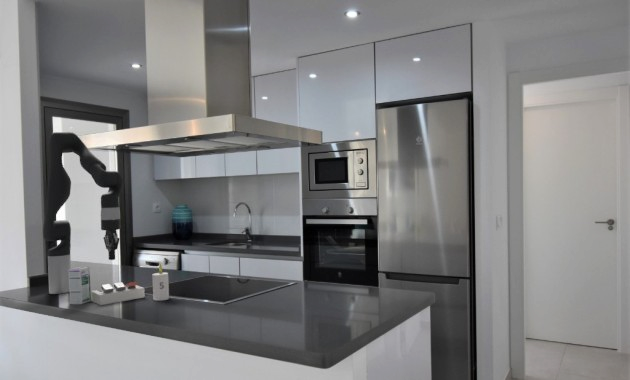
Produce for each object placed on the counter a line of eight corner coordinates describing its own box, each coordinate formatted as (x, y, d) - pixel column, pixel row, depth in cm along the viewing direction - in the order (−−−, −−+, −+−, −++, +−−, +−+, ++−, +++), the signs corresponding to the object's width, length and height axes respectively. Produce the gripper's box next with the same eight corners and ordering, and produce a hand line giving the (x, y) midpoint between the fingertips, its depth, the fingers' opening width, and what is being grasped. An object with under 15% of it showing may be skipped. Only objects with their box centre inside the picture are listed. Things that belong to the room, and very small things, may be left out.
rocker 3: (126, 287, 204) (125, 284, 204) (133, 286, 206) (133, 283, 206) (130, 286, 200) (129, 282, 200) (137, 284, 202) (137, 281, 202)
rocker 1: (101, 288, 197) (101, 285, 197) (109, 287, 199) (109, 283, 199) (105, 293, 194) (105, 289, 193) (113, 291, 196) (113, 288, 195)
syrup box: (82, 304, 193) (80, 268, 193) (69, 304, 195) (68, 268, 195) (91, 301, 199) (90, 266, 199) (78, 301, 200) (77, 266, 200)
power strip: (91, 300, 200) (90, 289, 200) (147, 291, 216) (146, 280, 216) (100, 305, 191) (100, 293, 191) (158, 294, 207) (157, 284, 207)
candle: (154, 301, 194) (153, 264, 194) (152, 298, 200) (151, 262, 200) (170, 299, 197) (168, 263, 197) (167, 296, 203) (166, 261, 203)
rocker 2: (113, 286, 200) (113, 283, 200) (121, 285, 203) (121, 281, 202) (117, 290, 197) (118, 287, 197) (125, 289, 199) (125, 286, 199)
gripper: (96, 218, 202) (97, 259, 202) (106, 219, 192) (107, 262, 192) (114, 217, 207) (115, 257, 207) (125, 218, 197) (126, 260, 197)
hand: (112, 259), depth 199 cm, fingers closed
